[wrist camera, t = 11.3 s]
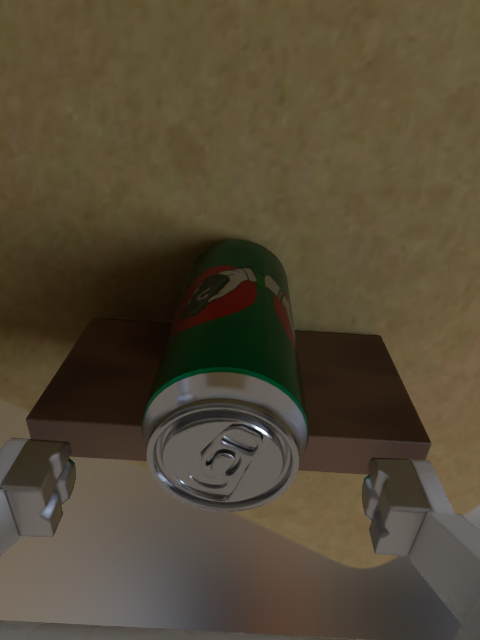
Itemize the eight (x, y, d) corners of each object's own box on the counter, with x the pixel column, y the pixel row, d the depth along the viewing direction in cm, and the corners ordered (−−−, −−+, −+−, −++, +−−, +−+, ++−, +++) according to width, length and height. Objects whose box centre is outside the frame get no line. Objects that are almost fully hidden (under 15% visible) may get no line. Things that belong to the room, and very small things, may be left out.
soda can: (173, 297, 23) (105, 483, 13) (218, 216, 21) (181, 362, 10) (254, 338, 24) (253, 540, 14) (305, 266, 22) (350, 442, 11)
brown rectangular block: (101, 388, 26) (46, 502, 19) (92, 318, 24) (24, 418, 17) (363, 404, 26) (401, 523, 19) (380, 335, 24) (432, 443, 17)
